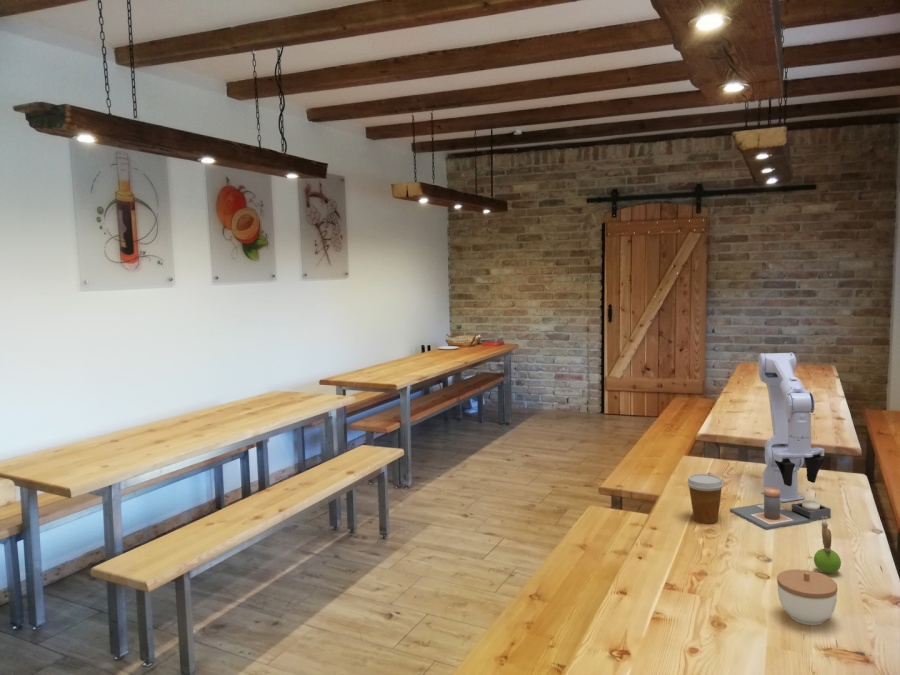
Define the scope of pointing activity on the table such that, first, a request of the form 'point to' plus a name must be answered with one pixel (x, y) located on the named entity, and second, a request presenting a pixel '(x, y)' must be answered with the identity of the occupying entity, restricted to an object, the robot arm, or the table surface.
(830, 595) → the lidded jar
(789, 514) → the picture board
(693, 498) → the disposable coffee cup
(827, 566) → the green tan bulb piece
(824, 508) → the button housing
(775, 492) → the grey canister
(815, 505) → the button
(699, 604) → the table surface
